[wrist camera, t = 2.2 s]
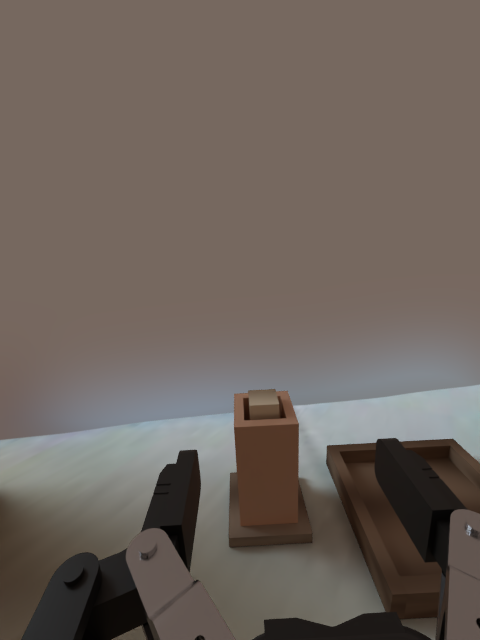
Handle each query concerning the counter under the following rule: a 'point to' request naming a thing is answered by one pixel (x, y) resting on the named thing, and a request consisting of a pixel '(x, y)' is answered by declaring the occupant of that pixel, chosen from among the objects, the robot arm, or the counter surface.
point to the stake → (260, 408)
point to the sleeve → (267, 463)
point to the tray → (386, 528)
